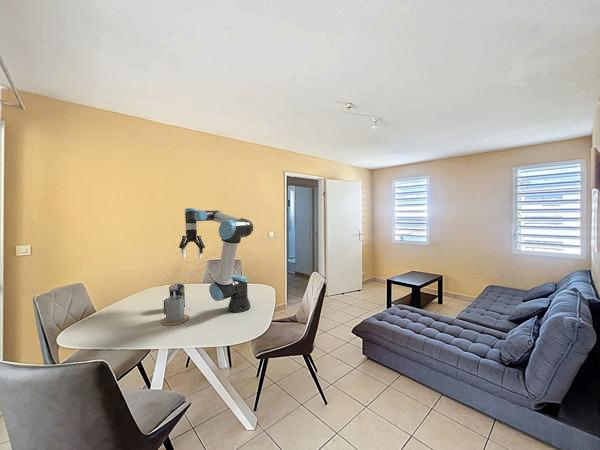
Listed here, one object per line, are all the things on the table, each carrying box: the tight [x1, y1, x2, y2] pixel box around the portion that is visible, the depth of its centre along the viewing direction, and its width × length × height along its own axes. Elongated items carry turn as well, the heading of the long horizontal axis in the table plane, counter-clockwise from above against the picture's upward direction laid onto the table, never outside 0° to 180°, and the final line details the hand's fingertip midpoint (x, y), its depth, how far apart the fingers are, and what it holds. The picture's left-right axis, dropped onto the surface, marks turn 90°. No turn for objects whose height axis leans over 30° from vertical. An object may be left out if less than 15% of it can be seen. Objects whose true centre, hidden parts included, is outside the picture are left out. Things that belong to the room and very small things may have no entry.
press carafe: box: [160, 296, 190, 327], centre depth 157 cm, size 16×16×14 cm
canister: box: [169, 283, 186, 308], centre depth 176 cm, size 10×10×18 cm
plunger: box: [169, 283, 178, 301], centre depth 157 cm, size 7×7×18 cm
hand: (192, 257), depth 185 cm, fingers open, 13 cm apart
